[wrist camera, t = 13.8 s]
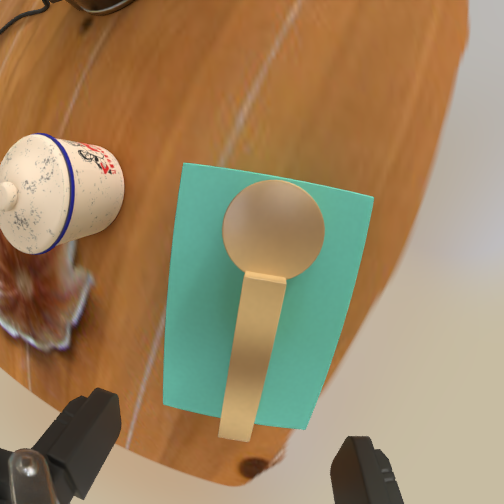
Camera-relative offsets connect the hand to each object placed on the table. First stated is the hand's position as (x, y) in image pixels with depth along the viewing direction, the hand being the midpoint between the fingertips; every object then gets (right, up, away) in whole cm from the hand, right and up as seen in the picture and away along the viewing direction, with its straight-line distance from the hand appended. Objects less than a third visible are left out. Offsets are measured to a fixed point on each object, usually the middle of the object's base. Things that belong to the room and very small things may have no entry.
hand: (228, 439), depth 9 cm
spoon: (+1, +2, +10) cm, 10 cm away
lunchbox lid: (+1, +2, +11) cm, 11 cm away
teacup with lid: (-16, +13, +17) cm, 27 cm away
